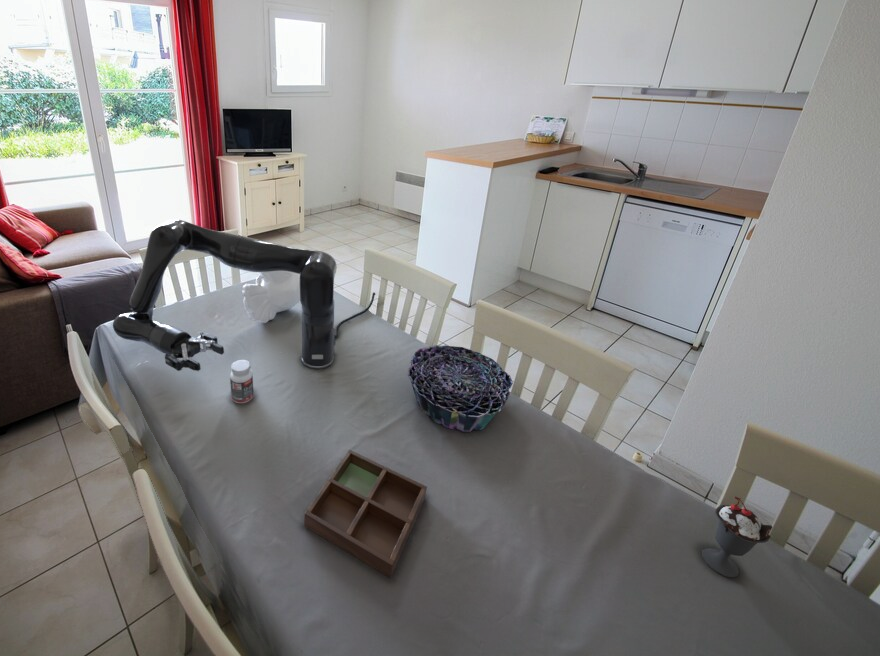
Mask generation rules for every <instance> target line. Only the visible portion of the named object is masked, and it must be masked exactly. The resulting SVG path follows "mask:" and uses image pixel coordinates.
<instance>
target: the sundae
mask: <svg viewBox="0 0 880 656" xmlns="http://www.w3.org/2000/svg"><path fill="white" fill-rule="evenodd" d="M734 499H735V500H737V502H736V503H735V504H734V503H733V504H730V505H729V504H720V505H719V506H717V507H716V508H715V511H714V514H715V516H716V517H717V519H718V522H717V526H716V529H715V535H714V536H715V542H716V543H717V544H718V546H719V547H720V548H721V549H720V550H719V549H715V548H712V547H706V548H704V549H702V551H701V556H702V558H703V560H704V562H705V564H707V565H708V567H710V568H711V570H713V571H714V572H716V573H718V574H719V575H722V576H723V577H727V578H737V577H738V576H739V573H740V572H739V568H738V566H737V564H736V563H735V562H734V560H733V559H731V558H730V556H736V557H743V556H744V555H746V554H747V553H749V552H750V551H751V550H752V549H753V548H754V547H755V546H756V545H757V544H764V543H767V542H769V541H770V539H771V534H770V533H771V531H772V530H773V525H771V524H763V523H762V522H761V519H760V518H759V516H757V514H755V513H754V512H753V511H752V510H749V509H748V508H746V506H745V503H744V502H743V501H742V499H741V497H738V496H734ZM740 503H741V505H742V506H743V507H740V506H739V504H740Z"/></svg>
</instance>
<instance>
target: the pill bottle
mask: <svg viewBox="0 0 880 656" xmlns="http://www.w3.org/2000/svg"><path fill="white" fill-rule="evenodd" d="M230 367H231V368H230V369H231V372H230V374H229V383H230V396H231V400H232V401H233V402H234V403H236V404H247V403H248V402H250V401H252V399H253V398H254V394H255V393H254V391H255V390H254V377H253V371H252V369H251V363H250V362H249V361H248V360H246V359H238V360H236V361H234V362H233V363H231V365H230Z"/></svg>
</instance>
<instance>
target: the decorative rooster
mask: <svg viewBox="0 0 880 656" xmlns="http://www.w3.org/2000/svg"><path fill="white" fill-rule="evenodd" d="M257 273H258V274H259V275H258V276H256V279H255V284H254V283H245V284H244V285H243V286H242V288H241V289H242V290H241V294H242V296H243V301H242V302H243V303H242V305H243V307H244V309H245V311H246V313H247V316H248V318H249V319H250V320H252V321H253V322H256V323H260V324H266V323H268V322H269V321H271V320H273V319H274V318H275V317H276V315H277V313H280V312H284V311H287V310H290V309H292V308H294V307H296V305H297V304H299V303H300V274H297V273H294V272H289V271H270V272H257Z"/></svg>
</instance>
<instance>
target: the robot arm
mask: <svg viewBox="0 0 880 656" xmlns="http://www.w3.org/2000/svg"><path fill="white" fill-rule="evenodd" d="M183 251H193V252H198V253H203V254H207V255H209V256H211V257H213V258H214V259H216V260H217V261H219V262H220V263H221V264H223V265H225V266H227V267H229V268H231V269H237V270H241V271H245V272H251V273H258V272H270V271H289V272H294V273H297V274H300V301H299V303H300V304H301V362H302V364H303V365H305V366H306V367H307V368H310V369H314V370H321V369H325V368H328V367H330V366H331V365H332V364H333V362H334V356H335V345H336V339H338V337H339V330H340V327H341V326H342V325H343V324H345V323H346V322H348V321H351V320H353V319H354V318H355V319H356V317H359V316H361V315H363V314H365V313H366V312H367V311H368V310H370V308H371V307H372V304H373V303H374V300H375V295H376V292H373V293H372V295H371V299H370V302H369V304H368V306H367V307H366V308H365V309H363V310H362V311H360V312H358V313H357V312H356V314H353V315H351V316H349V317H347V318H345V319H343V320H341V321H340V322H339V323H338V324H337V325H336V328H335V300H334V299H335V298H334V292H335V291H334V289H335V277H336V274H337V269H338V265H337V261H336V259H335V258H334V257H333V256H332V255H331V254H330V253H327V252H325V251H321V250H313V249H306V248H298V247H291V246H286V245H282V244H278V243H274V242H269V241H264V240H261V239H258V238H253V237H250V236H245V235H240V234H235V233H230V232H225V231H220V230H216V229H215V230H214V229H211V228H206V227H203V226H200V225H197V224H194V223H192V222H188V221H186V220H182V219H177V218H176V219H174V218H172V219H169V220H165V221H164V222H162V223H160V224H158V225H157V226H155V227H154V228H153V229H152V230H151V232H150V234H149V237H148V242H147V245H146V251H145V256H144V260H143V264H142V267H141V271H140V274H139V276H138V278H137V281H136V284H135V286H134V288H133V290H132V292H131V295H130V297H129V300H128V307H129V309H130V310H131V311H129V312H124V313H121V314H118V315H117V316H116V317H115V318H114V320H113V322H112V323H113V324H112V328H113V331H114V333H115V334H116V335H117V336H118V337H120V338H121V339H124V340H128V341H133V342H140V343H144V344H146V345H148V346H150V347H153V348H154V349H155V350H157V351H159V352H161V353H163V354H164V361H165V364H166V365H167V366H169V367H171V368H172V369H174V370H176V371H178V372H180V371H182V370H183V369H184V368H185V369H190V370H191V371H194V372H195V371H196V372H200V371H201V364H200V362H199V361H197V360H194V359H192V358H193V357H194V356H195V355H197V354H199V353H206V352H207V351H212V352H214V353H217V354H219V355H223V354H225V349H224V345H222V344H219V343H218V337H217V336H215V335H212V334H210V333H206V332H204V331H202V332H200V333H199V336H197V337H193V336H191V335H190V333H188V332H187V331H184V330H182V329H181V328H177V327H175V326H172V325H169V324H166V323H163V322H161V321H158V320H156V319H153V318H154V307H155V305H156V303H157V301H158V298H159V297H160V294H161V291H162V287H163V282H164V281H163V280H164V275H165V273H166V269H167V268H168V266H169V265H170V263H171V262H172V260H173V259H174V258H175V256H176V255H178V254H180V253H181V252H183ZM201 345H202V347H201ZM208 345H209V346H208ZM181 359H182V360H181Z"/></svg>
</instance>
